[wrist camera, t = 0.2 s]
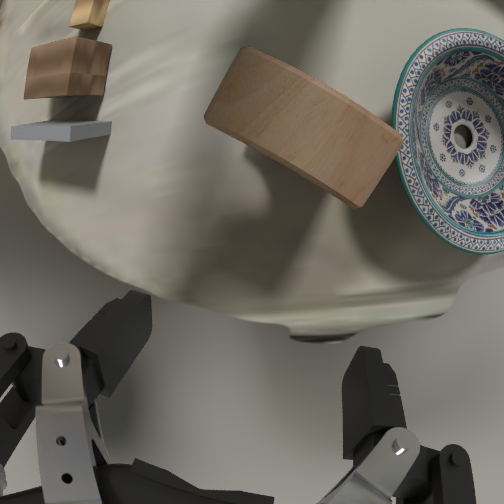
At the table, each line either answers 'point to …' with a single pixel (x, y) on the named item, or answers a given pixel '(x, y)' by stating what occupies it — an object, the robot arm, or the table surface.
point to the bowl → (442, 137)
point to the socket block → (67, 68)
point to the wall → (61, 130)
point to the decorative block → (304, 125)
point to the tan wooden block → (89, 14)
